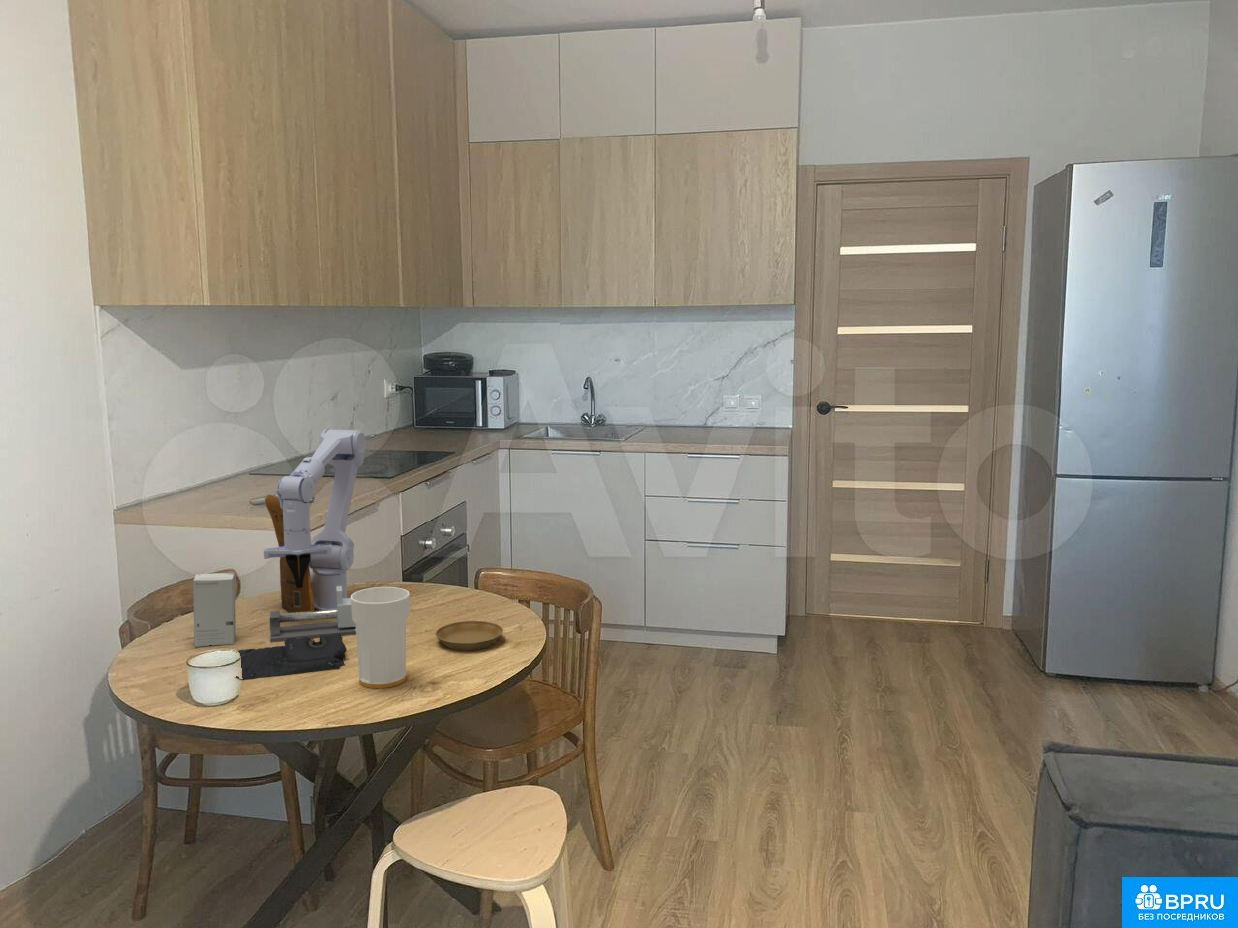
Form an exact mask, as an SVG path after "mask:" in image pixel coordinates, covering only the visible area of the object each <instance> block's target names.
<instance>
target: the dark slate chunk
mask: <svg viewBox="0 0 1238 928" xmlns="http://www.w3.org/2000/svg"><path fill="white" fill-rule="evenodd" d="M343 640H344V639H343V636H341V634H339V633H336V634H330V635H321V636H320V638H319V641H316V640H315V639H314V638H309V637H303V638H300V639H296V638H288V639H287V640H285V641H284V645H276V646H272V647H270V646H269V647H260V648H247V649H238V650H237V651H238V652H239V653H240V656H241V668H242V678H243V680H242V681H245V680H250V681H251V680H256V679H265V678H266V679H267V678H274V677H283V676H292V675H302V674H309V673H316V672H318V673H319V672H325V671H333V670H335V671H336V670H339V669H340V668H341V667H345V666H346V664H345V661H344V659H345V658H346V652H347V646H346V644H345V643H344V641H343Z"/></svg>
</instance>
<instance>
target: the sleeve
mask: <svg viewBox="0 0 1238 928" xmlns="http://www.w3.org/2000/svg"><path fill="white" fill-rule="evenodd" d="M336 597H337V614H338V618H336V622H337V623H338V628H344V627H356V624H355V623H354V621H353V620H352V609H351V597H347V598H345V599H343V597H342V586H336Z"/></svg>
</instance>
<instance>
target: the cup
mask: <svg viewBox="0 0 1238 928" xmlns="http://www.w3.org/2000/svg"><path fill="white" fill-rule="evenodd" d="M410 594H411V593H410V591H409V590H407V589H404V588H401V587H397V586H377V587H375V586H374V587H373V586H372V587H369V588H364V589H363V588H362V589H360V590H356V591H355V592H353V593H352V594H351V595H350V598H351V609H352V620H353V621H354V623H355V624H356V634H355V636H356V650H357V651H356V655H357V666H358V682H359V684H360V685H361V686H363V687H364V688H370V689H386V688H392V687H396V686H399V685H401V684H403V683H404V682H405V681H407V672H406V671H407V670H406V668H407V666H406V665H407V663H406V662H407V660H406V659H407V620H408V618H409V617H410V615H411V611H410V609H411V603H410V602H411V601H410V600H411V595H410Z"/></svg>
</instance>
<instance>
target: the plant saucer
mask: <svg viewBox="0 0 1238 928" xmlns="http://www.w3.org/2000/svg"><path fill="white" fill-rule="evenodd" d="M503 632H504V629H503V627H502V626H501V625H499V624H497V623H494V622H490V621H486V620H485V621H483V620H482V621H481V620H463V621H455V622H451V623H448V624H445V625H442V626H440V627H439V628H438V629H437V630H435V632H434V633H435V636H436V638H437V639H438V640H439V642H440V643H442V644H443V645H445V647H447V648H450V649H452V650H457V651H473V650H482V649H485V648H488V647H490V646H492V645H493V644H494V643H495V642H497V640H498V639H499V638H500V637H501V636H502V634H504V633H503Z"/></svg>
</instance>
